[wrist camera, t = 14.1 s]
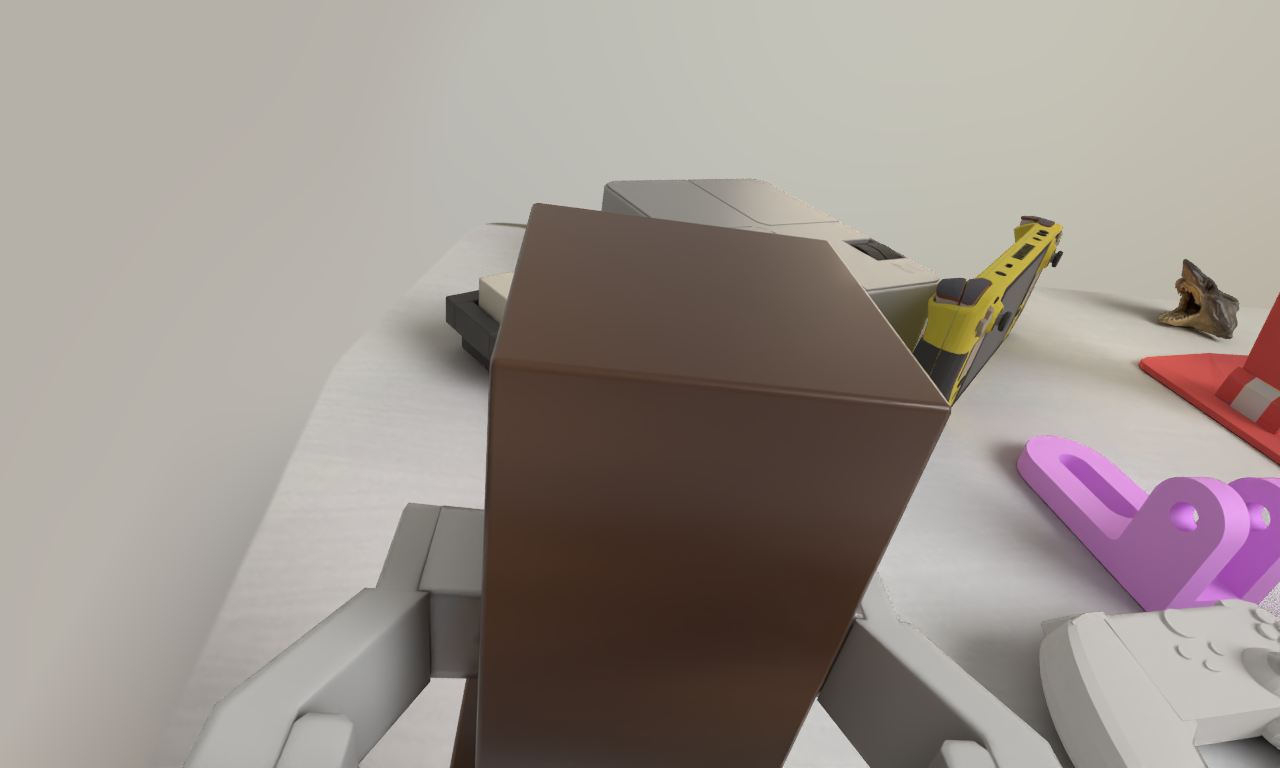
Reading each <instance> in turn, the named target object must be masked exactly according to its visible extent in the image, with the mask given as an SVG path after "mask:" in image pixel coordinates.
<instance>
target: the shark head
mask: <svg viewBox="0 0 1280 768" xmlns="http://www.w3.org/2000/svg"><path fill="white" fill-rule="evenodd" d="M1182 277H1183V278H1180V279H1179V280H1177V281H1176V284H1175V288H1177V291H1178V294H1179V293H1180V296H1181V295H1182V298H1181V299H1180V302H1179V307H1177V308H1176V309H1175V310H1173V311H1169V312H1167V313H1166V312H1165V313H1164V314H1161V315H1159V317H1158V320H1159V321H1160V322H1163V323H1168V324H1171V325H1174V326H1184V327H1194V328H1196V329H1199V330H1201V331H1205V332H1207V333H1210V334H1213V335H1215V336H1217V337H1222V338H1224V339H1231V338H1232V337H1233V336H1232V333H1233V331H1234V329H1235V328H1236V327H1237V319H1236V312H1237V311H1238V310H1239V303H1238V300H1237V299H1236V298H1234V297H1233V296H1230V295H1228V294H1226V293H1223V292H1221V291H1220V290H1218V288H1217V285H1216V284H1215V282H1214V281H1213V280H1212V279H1210V278H1209V277H1207V276H1206V275H1205V274H1203V273H1202V272H1201V270H1200V269H1199V268H1197V266H1195V265H1194V264H1193V263H1192V262H1190V261H1188V260H1187V259H1185V260H1183V271H1182Z"/></svg>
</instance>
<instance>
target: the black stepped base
mask: <svg viewBox="0 0 1280 768" xmlns="http://www.w3.org/2000/svg"><path fill="white" fill-rule="evenodd" d="M446 322H447V323H448V324H449V325H450V326H451V327H452V328H454V329H455V330H456V331H457V332H458V333H459V334H460V335H461V336H462V346H463V347H464V348H465V349H466V350H467V351H468V352H469V353H470V354H472V355H473V356H474V357H475V358H476V359H477V360H478V361H479V362H480V363H481V364H482V365H483V366H485V367H486V368H487V369H488V370H489V371H490V361H491V357H492V353H493V350H494V346H495V342H496V339H497V335H498V331H499V327H500V324H499V323H498V322H497V321H495V320H494V319H493V318H492V317H491V316H489V315H488V314H487V313H486V312H485V311H483V310H482V309H481V308H480V307H479V290H477V291H472V292H467V293H462V294H457V295H452V296H447V297H446Z"/></svg>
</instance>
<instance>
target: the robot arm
mask: <svg viewBox="0 0 1280 768" xmlns="http://www.w3.org/2000/svg"><path fill="white" fill-rule="evenodd" d="M483 536H484V510H482V509H472V508H462V507H452V506H434V505H425V504H416V503H408V504H407V506H406V507H405V508H404V510H403V512H402V515H401V518H400V520H399V523H398V526H397V529H396V532H395V535H394V538H393V540H392V543H391V546H390V549H389V552H388V555H387V557H386V560H385V563H384V566H383V569H382V572H381V574H380V577H379V580H378V583H377V586H376V588H364V589H363V590H362V591H360V592H359V593H358V594H356V595H355V596H354V597H353V598H351V599H350V600H349V601H347V602H346V603H345V604H344V605H342V606H341V607H340V608H338V609H337V610H336V611H335V612H333V613H332V614H331V615H329V616H328V617H327V618H325V619H324V620H323V621H322V622H320V623H319V624H318V625H316V626H315V627H314V628H313V629H311V630H310V631H309V632H307V633H306V634H305V635H304V636H302V637H301V638H300V639H298V640H297V641H296V642H295V643H293V644H292V645H291V646H289V647H288V648H287V649H286V650H284V651H283V652H282V653H280V654H279V655H278V656H277V657H275V658H274V659H273V660H271V661H270V662H269V663H268V664H266V665H265V666H264V667H262V668H261V669H260V670H259V671H257V672H256V673H255V674H253V675H252V676H251V677H250V678H248V679H247V680H246V681H244V682H243V683H242V684H241V685H239V686H238V687H237V688H235V689H234V690H233V691H232V692H230V693H229V694H228V695H226V696H225V697H224V698H222V699H221V700H220V701H219V702H217V703H216V704H215V705H214V707H213V709H212V711H211V713H210V715H209V717H208V718H207V720H206V722H205V724H204V726H203V728H202V730H201V732H200V734H199V736H198V738H197V740H196V742H195V744H194V746H193V748H192V750H191V752H190V754H189V756H188V757H187V759H186V761H185V763H184V765H183V767H182V768H359V767H358V764H359V763H360V762H361V761H362V760H363V759H364V757H365V756H366V755H367V754H368V753H369V752H370V750H371V749H372V748H373V747H374V746H375V745H376V744H377V742H378V741H379V740H380V739H381V738H382V737H383V735H384V734H385V733H386V732H387V731H388V730H389V729H390V727H391V726H392V725H393V724H394V723H395V722H396V720H397V719H398V718H399V717H400V716H401V715H402V713H403V712H404V711H405V710H406V709H407V708H408V707H409V705H410V704H411V703H412V702H413V701H414V700H415V698H416V697H417V696H418V695H419V694H420V693H421V692H422V690H423V689H424V688H425V687H426V686H427V685H428V683H429V682H430V678H468V679H478V673H479V646H480V619H481V591H482V564H483ZM816 697H818V699H817V700H818V701H819V703H820V704H821V705H822V707H823V708H824V709H825V710H826V712H827V713H828V714H829V715H830V717H831V718H832V719H833V721H834V722H835V723H836V724H837V726H838V727H839V728H840V729H841V731H842V732H843V733H844V735H845V736H846V737H847V738H848V740H849V741H850V742H851V743H852V745H853V746H854V747H855V749H856V750H857V751H858V752H859V754H860V755H861V756H862V757H863V759H864V760H865V761H866V763H867V764H868V765H869V766H870V768H1062V766H1061V764H1060V763H1059V761H1058V759H1057V757H1056V755H1055V753H1054V752H1053V750H1052V748H1051V746H1050V744H1049V743H1048V742H1047V741H1046V740H1045V739H1044V738H1043V737H1042V736H1040V735H1039V734H1038V733H1037V732H1036V731H1035V730H1033V729H1032V728H1031V727H1030V726H1029V725H1028V724H1026V723H1025V722H1024V721H1023V720H1022V719H1021V718H1019V717H1018V716H1017V715H1016V714H1015V713H1014V712H1012V711H1011V710H1010V709H1009V708H1008V707H1007V706H1005V705H1004V704H1003V703H1002V702H1001V701H1000V700H998V699H997V698H996V697H995V696H994V695H993V694H991V693H990V692H989V691H988V690H987V689H986V688H984V687H983V686H982V685H981V684H980V683H979V682H977V681H976V680H975V679H974V678H973V677H972V676H970V675H969V674H968V673H967V672H966V671H965V670H964V669H962V668H961V667H960V666H959V665H958V664H957V663H955V662H954V661H953V660H952V659H951V658H950V657H948V656H947V655H946V654H945V653H944V652H943V651H941V650H940V649H939V648H938V647H937V646H936V645H934V644H933V643H932V642H931V641H930V640H929V639H927V638H926V637H925V636H924V635H923V634H922V633H920V632H919V631H918V630H917V629H916V628H915V627H913V626H912V625H911V624H910V623H905V622H900V621H899V619H898V616H897V614H896V612H895V610H894V607H893V605H892V603H891V601H890V598H889V596H888V594H887V592H886V589H885V587H884V585H883V583H882V580H881V578H880V576H879V574H878V571H877V570H876V572H875V574H874V576H873V578H872V580H871V582H870V584H869V586H868V589H867V591H866V593H865V595H864V597H863V599H862V601H861V603H860V605H859V607H858V610H857V612H856V614H855V616H854V618H853V620H852V622H851V624H850V626H849V628H848V631H847V633H846V635H845V637H844V639H843V641H842V643H841V645H840V647H839V649H838V652H837V654H836V656H835V658H834V660H833V662H832V664H831V666H830V668H829V670H828V673H827V675H826V677H825V679H824V681H823V683H822V685H821V687H820V689H819V691H818V694H817V696H816Z"/></svg>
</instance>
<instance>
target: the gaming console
mask: <svg viewBox="0 0 1280 768" xmlns="http://www.w3.org/2000/svg"><path fill="white" fill-rule="evenodd" d="M1021 219H1022V220H1021V223H1020V226H1019V227H1016V228H1015V229H1014V234H1015V244H1014V245H1012V246H1011V247H1010V248H1009V249H1008V250H1007V251H1006V252H1005V253H1003V254H1002V255H1001V256H1000V257H999V258H998V259H997V260H996V261H995V262H994V263H992V264H991V265H990V266H989V267H988V268H987V269H985V270H984V271H983V272H982V273H981V274H980V275H978V276H977V277H976V278H974V279H970V280H968V281H966V279H964V278H951V279H943V280H941V281H940V282H939V283H938V285H937V288H936V294H934V295H933V296H932V297H931V298H930V299H929V301H928V323H927V327H926V330H925V332H924V334H923V336H922V337H921V339H920V341H919V343H918V344H917V346H916V348H915V350H914V351H913V353H912V354H913V355H914V357H915V358H916V359H917V361H918V362H919V364H920V365H921V366H922V368H923V369H924V370H925V372H926V373H927V374H928V376H929V377H930V378H931V380H932V381H933V382H934V384H935V385H936V386H937V388H938V389H939V390H940V392H941V393H942V395H943V396H944V397H945V399H946V400H947V401H948V403H949V404H950V406H951V407H952V406H953V404H954V403H955V402H956V401H957V399H958V398H959V397H960V396H961V394H962V393H963V392H964V391H965V389H966V388H967V387H968V386H969V384H970V383H971V382H972V380H973V379H974V378H975V377H976V375H977V374H978V373H979V372H980V370H981V369H982V368H983V367H984V365H985V364H986V363H987V361H988V360H989V359H990V358H991V356H992V355H993V354H994V353H995V351H996V350H997V349H998V348H999V346H1000V345H1001V344H1002V342H1003V341H1004V339H1005V338H1006V337H1007V336H1008V334H1009V332H1010V331H1011V329H1012V328H1013V326H1014V324H1015V322H1016V321H1017V319H1018V317H1019V316H1020V314H1021V312H1022V310H1023V308H1024V306H1025V304H1026V302H1027V300H1028V298H1029V296H1030V294H1031V292H1032V290H1033V288H1034V286H1035V284H1036V282H1037V280H1038V278H1039V276H1040V274H1041V272H1042V269H1043V268H1046V267H1047V266H1048V264H1049V263H1050V262H1051V263H1052V267H1056V266H1057V264H1058V262H1059V260H1060V258H1061V256H1062V254H1063V252H1062V251H1059V252H1058V253H1055V250H1056V246H1057V245H1058V244H1059V242H1060V238H1061V236H1062V231H1061V230H1062V228H1063V226H1062V225H1059V224H1055V222H1053V221H1050V220H1047V219H1044V218H1043V219H1042V218H1040V217H1035V216H1022V217H1021Z"/></svg>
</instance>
